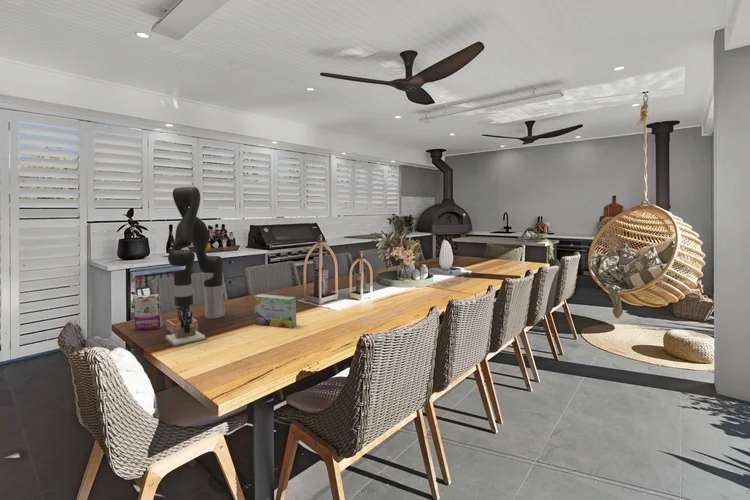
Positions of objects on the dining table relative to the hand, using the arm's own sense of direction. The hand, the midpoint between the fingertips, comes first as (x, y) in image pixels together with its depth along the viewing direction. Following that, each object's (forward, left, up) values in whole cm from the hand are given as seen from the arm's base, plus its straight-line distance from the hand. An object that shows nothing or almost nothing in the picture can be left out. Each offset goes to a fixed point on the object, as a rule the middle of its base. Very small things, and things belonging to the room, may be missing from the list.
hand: (185, 331), depth 185 cm
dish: (-3, -15, -4) cm, 16 cm away
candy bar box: (+8, -30, -4) cm, 31 cm away
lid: (0, 0, -3) cm, 3 cm away
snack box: (-41, +7, -4) cm, 42 cm away
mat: (0, 0, -4) cm, 4 cm away
